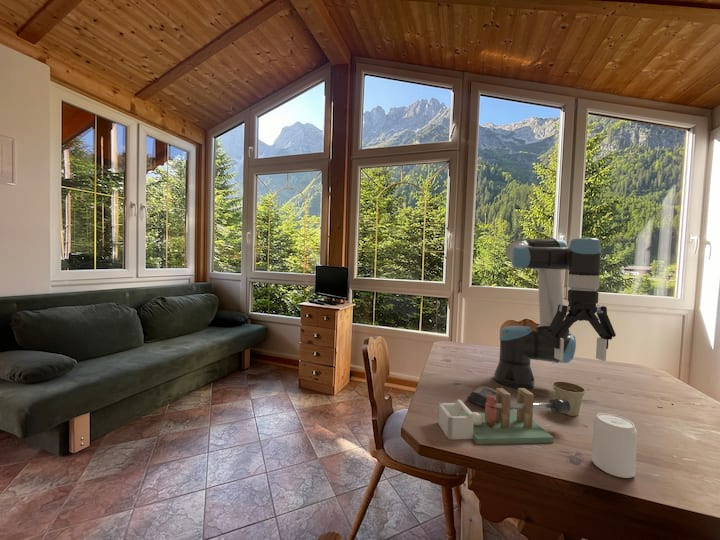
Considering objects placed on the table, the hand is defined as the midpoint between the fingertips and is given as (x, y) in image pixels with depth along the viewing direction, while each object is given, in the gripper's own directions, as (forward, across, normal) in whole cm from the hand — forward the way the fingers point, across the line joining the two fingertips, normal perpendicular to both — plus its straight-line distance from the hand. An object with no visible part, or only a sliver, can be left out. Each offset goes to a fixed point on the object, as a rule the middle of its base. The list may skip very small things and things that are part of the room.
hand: (579, 359), depth 92 cm
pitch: (+21, +24, 0) cm, 32 cm away
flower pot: (+21, -5, -10) cm, 24 cm away
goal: (+21, +38, +1) cm, 44 cm away
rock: (+21, +20, -16) cm, 33 cm away
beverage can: (+21, +6, +18) cm, 29 cm away
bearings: (+20, +20, 0) cm, 28 cm away
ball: (+18, +32, 0) cm, 37 cm away
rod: (+19, +16, 0) cm, 25 cm away
